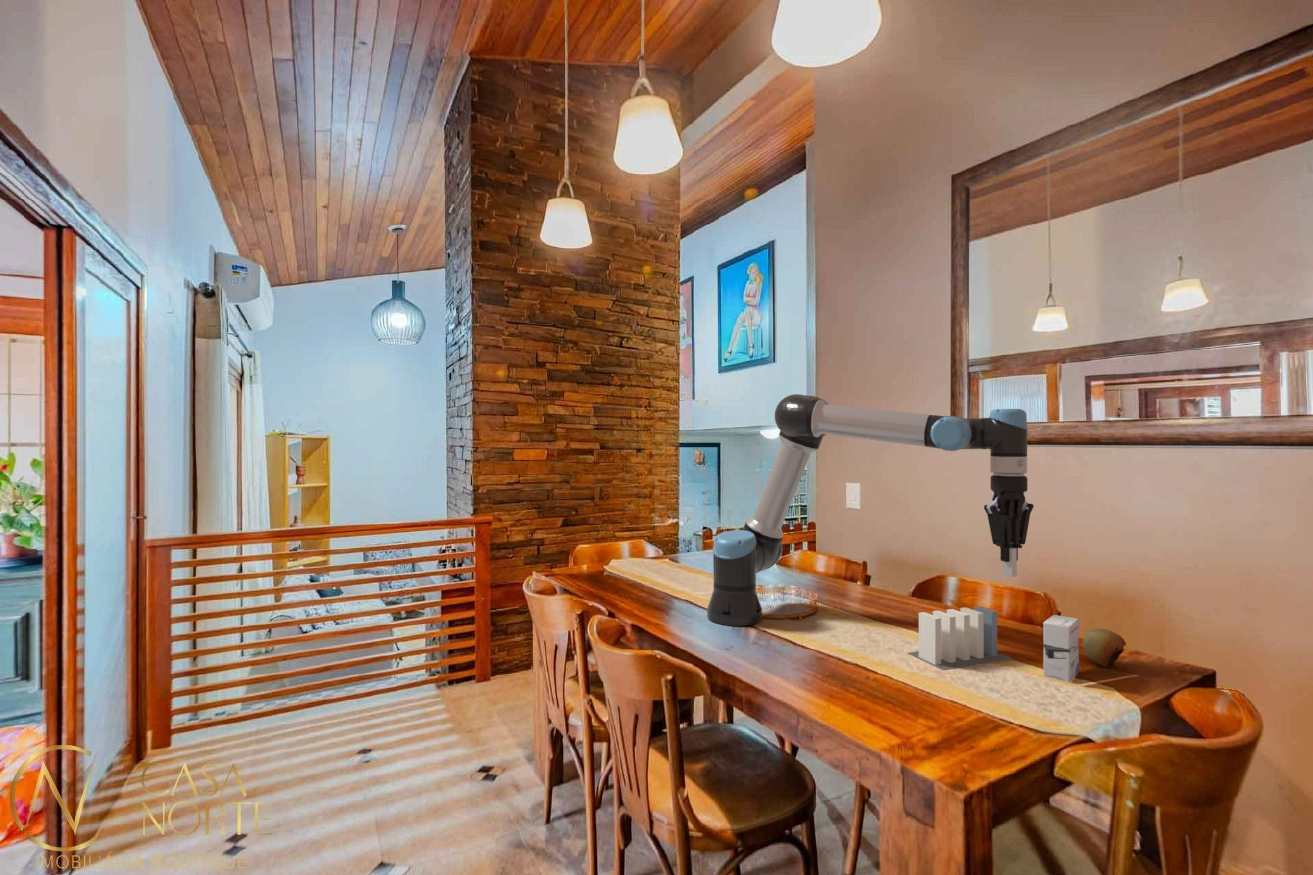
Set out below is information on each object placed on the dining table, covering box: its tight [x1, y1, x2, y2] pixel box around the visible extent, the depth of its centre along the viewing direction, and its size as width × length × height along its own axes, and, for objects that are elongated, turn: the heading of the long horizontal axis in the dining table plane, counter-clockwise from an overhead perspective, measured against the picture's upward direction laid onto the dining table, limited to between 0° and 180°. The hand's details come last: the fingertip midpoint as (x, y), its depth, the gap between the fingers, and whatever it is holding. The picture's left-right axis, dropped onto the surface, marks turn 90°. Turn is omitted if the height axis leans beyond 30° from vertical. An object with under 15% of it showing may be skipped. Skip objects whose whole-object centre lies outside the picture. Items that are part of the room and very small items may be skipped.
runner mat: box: [907, 650, 1015, 671], centre depth 139 cm, size 11×20×1 cm, turn 109°
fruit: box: [1082, 628, 1127, 668], centre depth 134 cm, size 8×8×8 cm
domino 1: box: [918, 611, 941, 665], centre depth 136 cm, size 2×5×10 cm, turn 19°
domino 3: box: [946, 608, 970, 660], centre depth 138 cm, size 2×5×10 cm, turn 19°
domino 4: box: [959, 606, 984, 658], centre depth 140 cm, size 2×5×10 cm, turn 19°
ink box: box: [1042, 614, 1080, 683], centre depth 128 cm, size 8×5×12 cm, turn 134°
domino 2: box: [932, 610, 956, 663], centre depth 137 cm, size 2×5×10 cm, turn 19°
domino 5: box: [973, 605, 998, 656], centre depth 141 cm, size 2×5×10 cm, turn 19°
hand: (1009, 575), depth 143 cm, fingers closed
